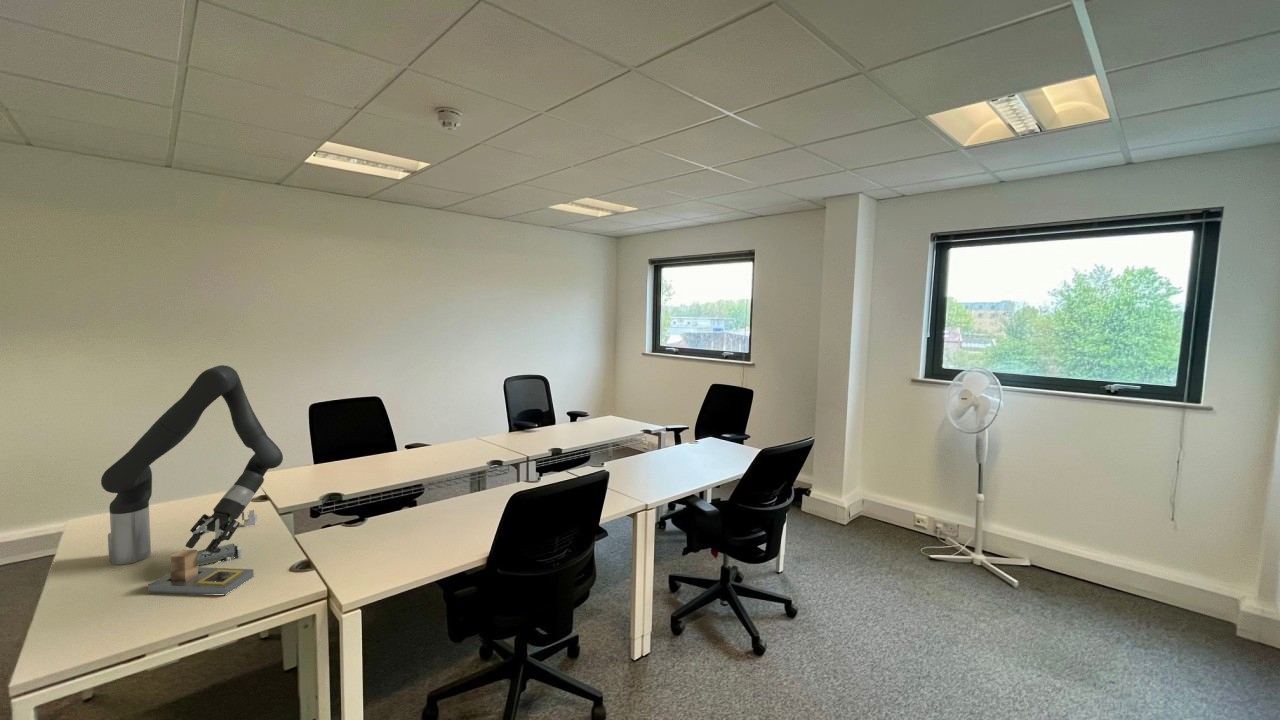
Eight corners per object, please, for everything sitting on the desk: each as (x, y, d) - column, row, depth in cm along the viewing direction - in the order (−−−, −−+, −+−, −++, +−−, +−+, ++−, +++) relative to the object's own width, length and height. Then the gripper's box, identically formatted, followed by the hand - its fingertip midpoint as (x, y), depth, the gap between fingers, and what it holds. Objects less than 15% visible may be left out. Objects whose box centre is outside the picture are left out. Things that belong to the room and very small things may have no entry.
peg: (171, 587, 153) (170, 556, 152) (184, 579, 157) (183, 549, 156) (185, 588, 153) (184, 556, 152) (198, 580, 157) (197, 549, 156)
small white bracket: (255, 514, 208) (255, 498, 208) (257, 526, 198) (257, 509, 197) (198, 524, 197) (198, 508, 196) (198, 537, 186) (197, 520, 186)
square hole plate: (148, 592, 150) (147, 583, 149) (181, 574, 160) (181, 565, 160) (225, 595, 150) (225, 586, 149) (253, 576, 161) (253, 568, 160)
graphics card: (240, 537, 181) (242, 548, 172) (241, 547, 181) (242, 559, 172) (177, 550, 170) (175, 563, 161) (177, 560, 170) (176, 574, 161)
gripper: (210, 494, 167) (171, 541, 157) (242, 499, 164) (205, 548, 153) (227, 504, 173) (191, 550, 163) (259, 509, 169) (224, 557, 159)
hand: (198, 549), depth 158 cm, fingers open, 8 cm apart
